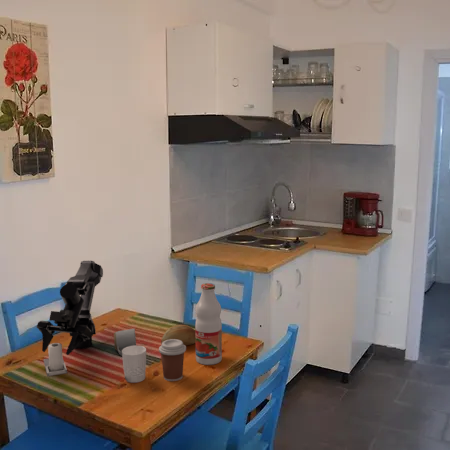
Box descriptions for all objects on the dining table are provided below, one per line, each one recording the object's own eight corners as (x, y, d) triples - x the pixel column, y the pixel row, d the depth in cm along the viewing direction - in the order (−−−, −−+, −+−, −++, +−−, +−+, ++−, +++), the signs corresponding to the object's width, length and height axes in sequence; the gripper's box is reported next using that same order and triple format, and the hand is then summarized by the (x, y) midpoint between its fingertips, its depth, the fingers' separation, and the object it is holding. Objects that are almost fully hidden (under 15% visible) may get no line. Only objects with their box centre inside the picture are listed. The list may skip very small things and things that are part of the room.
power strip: (43, 363, 193) (43, 356, 192) (62, 360, 195) (62, 353, 195) (47, 380, 179) (47, 373, 179) (67, 377, 182) (67, 370, 181)
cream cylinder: (62, 367, 186) (60, 341, 184) (63, 372, 182) (62, 346, 180) (48, 369, 184) (47, 343, 183) (50, 374, 180) (48, 348, 179)
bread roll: (203, 346, 208) (203, 326, 206) (166, 353, 201) (166, 333, 200) (193, 338, 216) (192, 319, 215) (157, 345, 209) (157, 325, 208)
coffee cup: (175, 385, 175) (175, 350, 173) (153, 378, 180) (152, 344, 178) (192, 374, 183) (191, 341, 181) (170, 368, 188) (169, 336, 186)
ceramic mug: (114, 346, 208) (113, 327, 206) (135, 344, 210) (135, 325, 208) (115, 358, 198) (114, 338, 196) (137, 355, 200) (137, 336, 198)
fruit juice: (227, 359, 196) (226, 284, 191) (210, 367, 188) (209, 290, 184) (207, 352, 201) (206, 279, 197) (190, 361, 194) (189, 285, 190)
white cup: (127, 385, 175) (126, 356, 174) (120, 376, 182) (119, 348, 181) (150, 380, 179) (149, 351, 177) (142, 371, 186) (141, 343, 184)
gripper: (37, 298, 187) (19, 340, 178) (85, 302, 182) (69, 346, 173) (52, 313, 196) (35, 353, 187) (98, 317, 190) (83, 359, 182)
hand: (55, 353), depth 182 cm, fingers open, 9 cm apart
